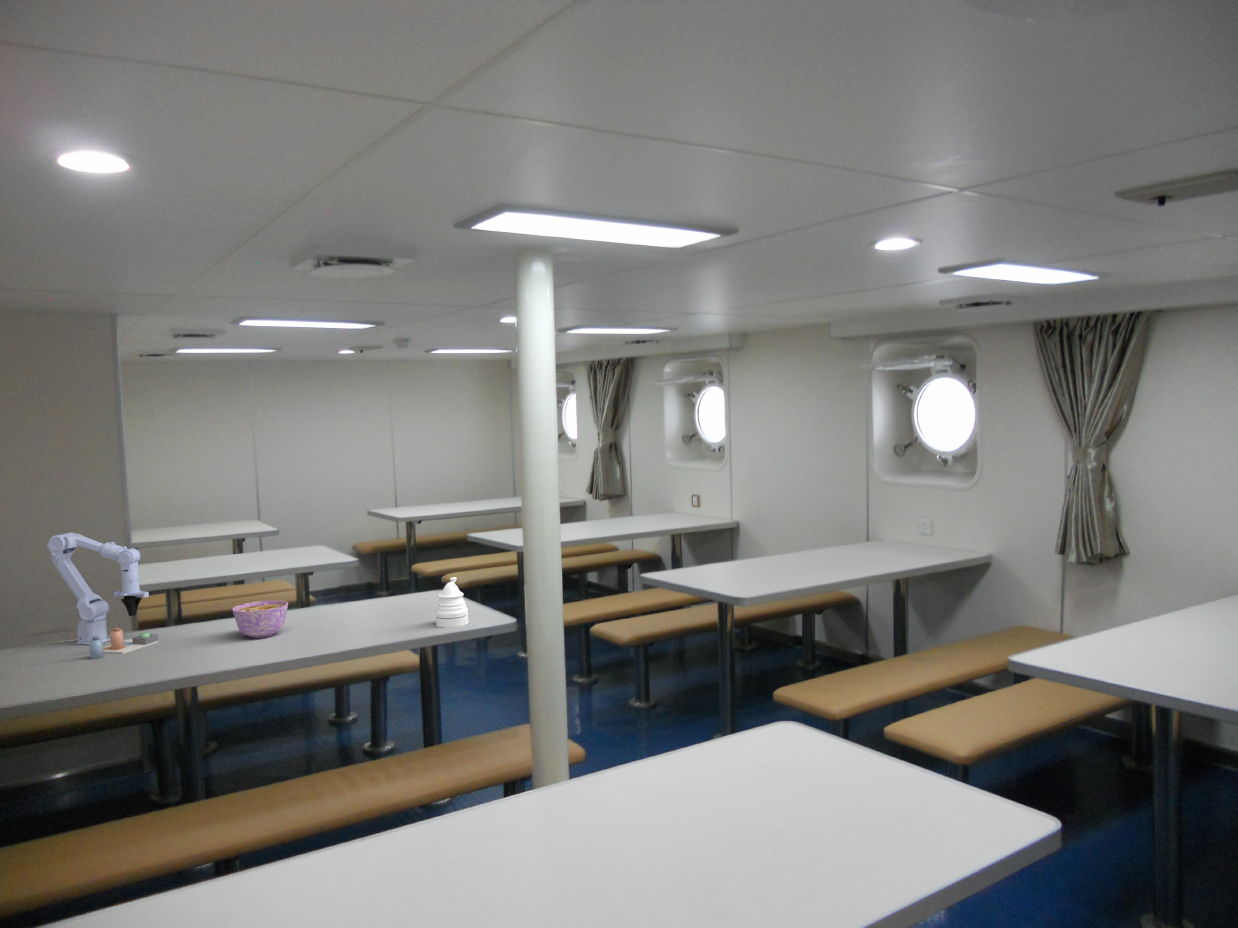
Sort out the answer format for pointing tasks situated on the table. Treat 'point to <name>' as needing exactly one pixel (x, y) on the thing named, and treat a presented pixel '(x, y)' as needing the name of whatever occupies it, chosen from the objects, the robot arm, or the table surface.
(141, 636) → the button
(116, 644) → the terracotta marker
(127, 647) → the picture board
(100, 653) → the slate marker
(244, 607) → the bowl of food
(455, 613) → the honey pot
